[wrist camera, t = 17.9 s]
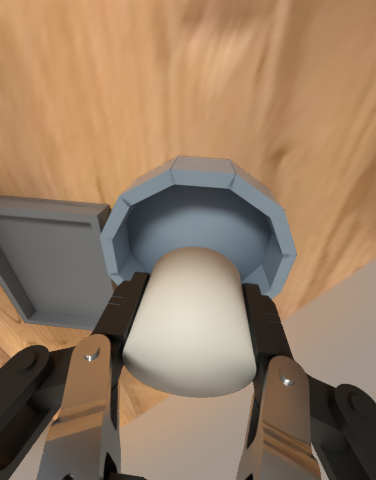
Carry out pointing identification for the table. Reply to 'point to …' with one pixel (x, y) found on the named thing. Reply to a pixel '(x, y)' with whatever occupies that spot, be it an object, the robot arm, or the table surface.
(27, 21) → the table surface
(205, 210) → the bowl
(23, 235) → the parts tray
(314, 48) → the table surface
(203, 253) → the marshmallow
